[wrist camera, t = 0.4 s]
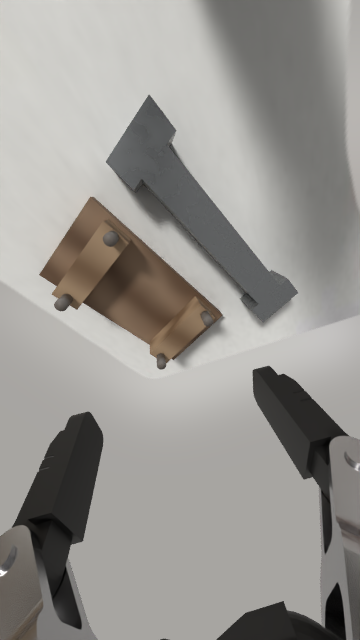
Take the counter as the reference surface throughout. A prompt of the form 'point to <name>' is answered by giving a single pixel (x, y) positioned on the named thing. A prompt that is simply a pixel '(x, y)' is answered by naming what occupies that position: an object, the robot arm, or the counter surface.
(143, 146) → the grey flared end bar
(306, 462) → the robot arm
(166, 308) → the rack
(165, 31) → the counter surface
